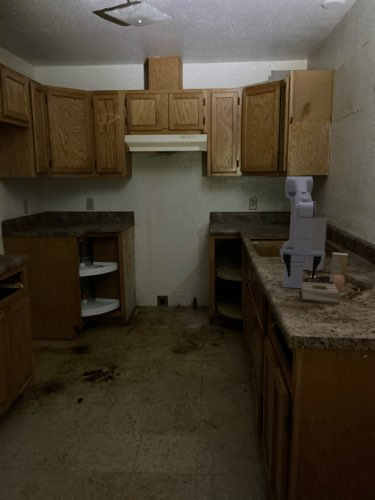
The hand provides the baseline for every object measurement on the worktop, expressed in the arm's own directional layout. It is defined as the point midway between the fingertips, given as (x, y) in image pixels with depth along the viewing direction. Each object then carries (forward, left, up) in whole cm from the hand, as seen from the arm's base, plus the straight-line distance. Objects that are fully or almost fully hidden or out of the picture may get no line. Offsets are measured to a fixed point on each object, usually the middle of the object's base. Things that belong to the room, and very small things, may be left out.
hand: (300, 277), depth 130 cm
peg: (-23, +16, -10) cm, 29 cm away
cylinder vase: (-60, +8, -10) cm, 61 cm away
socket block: (-11, +8, -10) cm, 16 cm away
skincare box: (-38, +18, -10) cm, 43 cm away
